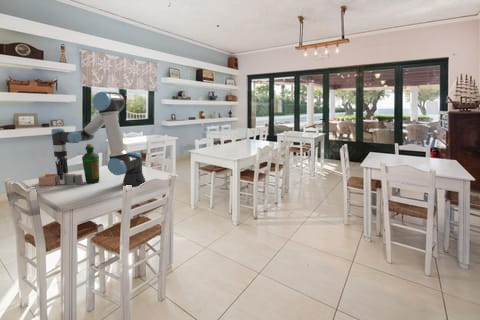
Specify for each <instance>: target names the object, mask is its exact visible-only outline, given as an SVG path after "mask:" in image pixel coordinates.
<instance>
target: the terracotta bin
mask: <svg viewBox="0 0 480 320" xmlns="http://www.w3.org/2000/svg"><path fill="white" fill-rule="evenodd" d="M37 179H38V184H39V185H38V186H39V187H42V186H56V185H58V184H59V179H58V175H57V173H45V174H42V175H40V176H38V178H37Z"/></svg>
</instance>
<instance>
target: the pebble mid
mask: <svg viewBox="0 0 480 320" xmlns="http://www.w3.org/2000/svg"><path fill="white" fill-rule="evenodd" d="M75 175H76V173H68V174H67V175H66V181H67V184H66V185H74V184H75Z"/></svg>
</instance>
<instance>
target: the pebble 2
mask: <svg viewBox="0 0 480 320" xmlns="http://www.w3.org/2000/svg"><path fill="white" fill-rule="evenodd" d="M83 183H84V179H83V174H78V173H77V174H76V173H75V183H74V184H75V185H80V184H81V185H82V184H83Z"/></svg>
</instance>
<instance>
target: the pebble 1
mask: <svg viewBox="0 0 480 320" xmlns="http://www.w3.org/2000/svg"><path fill="white" fill-rule="evenodd" d="M67 174H69V172H68V173H63V175H64V181H65V184H64V185H68V184H67V181H66V175H67ZM58 179H59V183H58V184H59V185H61V184H60V178H59V175H58Z"/></svg>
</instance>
